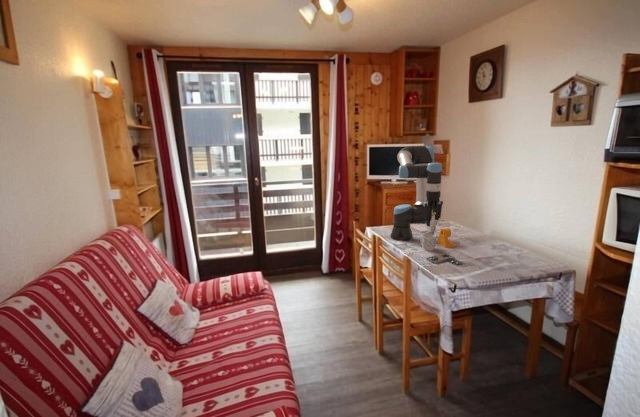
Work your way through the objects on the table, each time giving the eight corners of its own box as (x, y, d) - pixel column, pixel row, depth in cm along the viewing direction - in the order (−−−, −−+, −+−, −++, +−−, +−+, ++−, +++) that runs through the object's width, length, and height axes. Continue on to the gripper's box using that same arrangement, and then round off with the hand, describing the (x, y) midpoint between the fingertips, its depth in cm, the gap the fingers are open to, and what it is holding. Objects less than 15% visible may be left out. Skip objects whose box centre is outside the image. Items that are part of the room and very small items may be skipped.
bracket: (456, 248, 202) (457, 230, 200) (444, 249, 202) (446, 231, 199) (448, 243, 213) (449, 226, 210) (437, 243, 213) (438, 226, 210)
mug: (415, 248, 205) (415, 233, 203) (425, 246, 208) (426, 231, 206) (427, 254, 195) (428, 238, 193) (438, 251, 198) (439, 236, 196)
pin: (426, 233, 186) (427, 211, 183) (431, 232, 188) (432, 211, 185) (431, 235, 182) (432, 213, 180) (436, 234, 184) (437, 212, 181)
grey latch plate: (436, 259, 186) (436, 256, 186) (445, 257, 189) (445, 254, 189) (456, 268, 173) (456, 264, 173) (465, 265, 176) (466, 262, 176)
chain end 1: (445, 255, 189) (445, 252, 188) (454, 259, 183) (455, 255, 182) (425, 259, 182) (425, 256, 182) (434, 264, 176) (434, 260, 176)
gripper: (427, 192, 173) (425, 234, 178) (449, 190, 180) (446, 230, 184) (417, 191, 180) (416, 231, 185) (439, 188, 186) (437, 227, 191)
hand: (431, 230), depth 185 cm, fingers closed on pin, 3 cm apart
